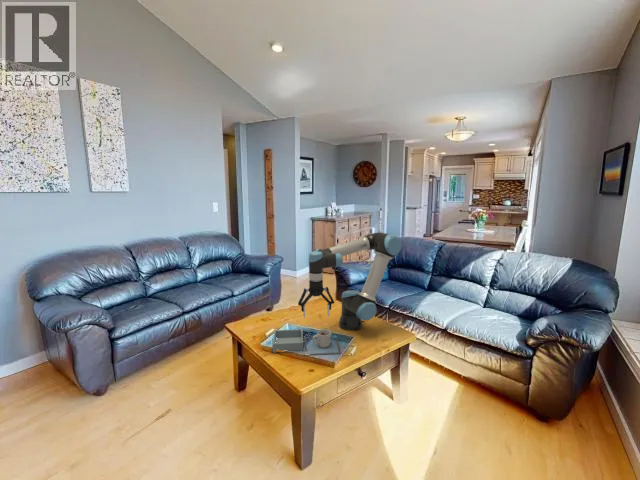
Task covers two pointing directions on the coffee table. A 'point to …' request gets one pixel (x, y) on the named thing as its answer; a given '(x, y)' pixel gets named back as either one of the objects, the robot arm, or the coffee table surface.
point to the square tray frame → (321, 353)
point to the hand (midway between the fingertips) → (316, 316)
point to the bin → (288, 340)
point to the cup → (323, 338)
